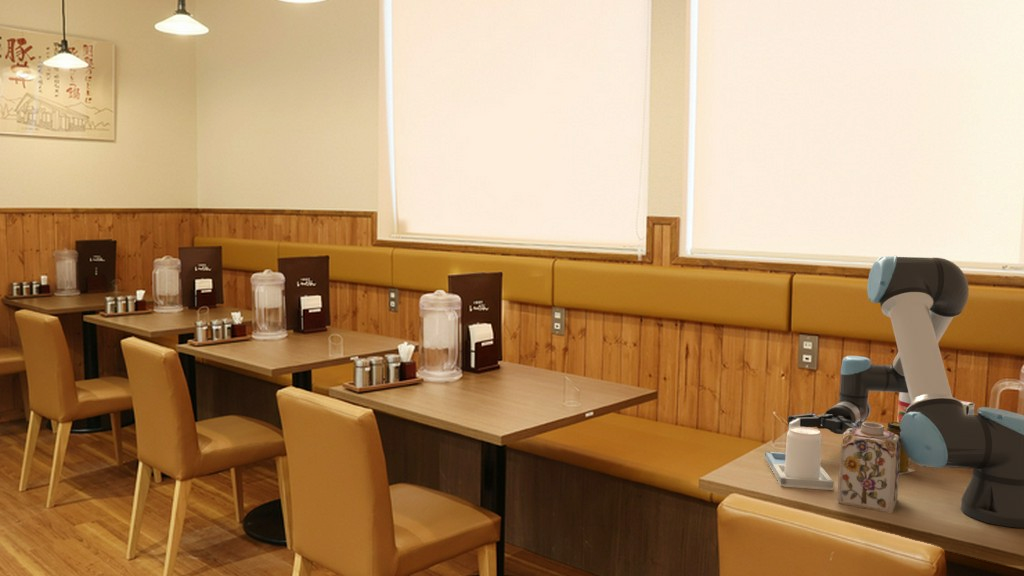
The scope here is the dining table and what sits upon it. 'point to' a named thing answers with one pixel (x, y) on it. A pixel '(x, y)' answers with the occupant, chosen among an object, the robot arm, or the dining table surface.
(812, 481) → the divided tray
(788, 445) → the beverage can
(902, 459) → the condiment
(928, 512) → the dining table surface
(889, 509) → the decorative jar
